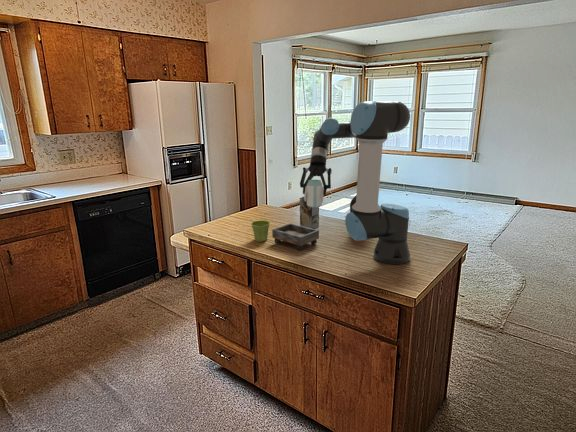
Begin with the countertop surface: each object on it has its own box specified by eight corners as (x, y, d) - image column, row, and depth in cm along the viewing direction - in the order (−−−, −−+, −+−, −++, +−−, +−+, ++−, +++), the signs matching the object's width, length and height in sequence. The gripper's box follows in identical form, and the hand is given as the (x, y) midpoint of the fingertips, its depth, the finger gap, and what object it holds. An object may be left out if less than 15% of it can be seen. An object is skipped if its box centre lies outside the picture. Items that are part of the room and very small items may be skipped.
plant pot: (267, 243, 181) (267, 226, 179) (249, 242, 183) (248, 225, 181) (272, 237, 190) (272, 220, 188) (254, 236, 192) (253, 220, 189)
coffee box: (319, 226, 205) (319, 198, 201) (312, 229, 201) (312, 200, 196) (306, 223, 211) (306, 195, 207) (299, 226, 207) (299, 197, 202)
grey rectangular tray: (318, 244, 179) (318, 230, 177) (301, 252, 170) (301, 237, 168) (290, 236, 191) (290, 223, 189) (272, 243, 181) (272, 229, 179)
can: (306, 203, 178) (306, 179, 174) (321, 203, 178) (322, 179, 174) (306, 208, 171) (307, 182, 168) (322, 208, 171) (322, 182, 167)
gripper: (339, 164, 182) (335, 205, 171) (299, 163, 186) (293, 203, 175) (339, 154, 175) (335, 197, 165) (297, 153, 179) (290, 195, 169)
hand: (313, 200), depth 170 cm, fingers closed on can, 7 cm apart
